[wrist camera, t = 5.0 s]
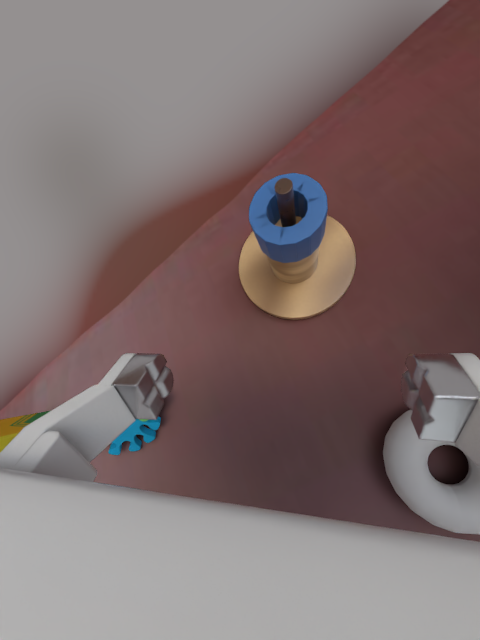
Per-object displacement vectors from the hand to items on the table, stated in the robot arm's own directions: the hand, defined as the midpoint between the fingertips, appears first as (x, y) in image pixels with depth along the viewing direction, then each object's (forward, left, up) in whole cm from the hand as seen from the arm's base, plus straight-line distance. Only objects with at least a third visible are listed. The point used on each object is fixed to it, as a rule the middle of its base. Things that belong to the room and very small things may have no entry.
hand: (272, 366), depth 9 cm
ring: (+4, -11, -12) cm, 17 cm away
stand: (+4, -11, -20) cm, 23 cm away
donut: (-14, +4, -20) cm, 25 cm away
